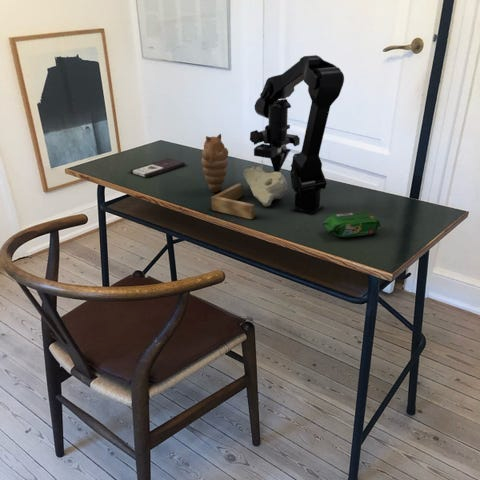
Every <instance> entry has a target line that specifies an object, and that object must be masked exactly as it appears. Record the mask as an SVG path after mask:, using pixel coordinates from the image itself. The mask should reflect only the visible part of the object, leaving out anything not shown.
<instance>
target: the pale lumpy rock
mask: <svg viewBox="0 0 480 480" xmlns="http://www.w3.org/2000/svg"><path fill="white" fill-rule="evenodd" d="M263 166H264V165H259V166H254V165H253V166H252V167H247V168H245V169H243V170H242V175H243V177H244V179H245V181H246V183H247V184H248V186H249V188H250V190H251V193H252V196H253V197H254V198H256V199H257V201H259V202H260V203H261V204H262V206H264V207H265V208H268V207H270V206H271V205H272V202H273V201H274V200H280V199H282V198H283V196H284V195H285V194H286V193H287V191H288V186H289V185H288V182H287V179H286V177H285V176H284V174H283V173H281V172H280V171H279V172H274V171H273V172H272V171H271V172H266V171H265V170H264V168H263Z"/></svg>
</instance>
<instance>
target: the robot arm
mask: <svg viewBox="0 0 480 480" xmlns="http://www.w3.org/2000/svg"><path fill="white" fill-rule="evenodd" d="M302 82H304V83H305V84H306V85H307V86H308V87H307V92H308V95H309V98H310V100H311V104H310V109H309V113H308V118H307V122H306V128H305V132H304V138H303V141H302V147H301V150H300V152H298V153H297V152H296V153H294V154H293V156H292V161H291V164H290V173H289V174H290V181H291V182H290V183H291V188H292V190H293V192H295V193H294V207H293V209H292V210H293V211H296V212H300V213H305V214H308V215H313V214H315V213H316V212H318V211H319V210H321V209H322V207H323V206H322V205H321V204H320V203H321V190H325V189H326V188H327V184H328V183H327V180H326V177H325V174H324V172H323V162H322V160H321V157H320V152H321V147H322V144H323V139H324V134H325V131H326V126H327V122H328V118H329V115H330V110H331V106H332V105H333V103H335V101H336V100H337V99H338V98H339V97H340V94H341V92H342V89H343V86H344V83H345V75H344V73H343V71H342V70H341V69H340V67H338V66H337V65H335V64H333V63H331V62H329V61H327V60H324V59H323V58H322V57H321V56H319V55H318V54H317V55H316V54H314V55H303V56H302V57H300V58H299V60H298V61H297V62H296V63H294V64H293V65H292V66H290V67H289V68H288V69H287V70H286V71H284V72H283V73H281V74H277V75H273V76H270V77H268V78H267V79H266V81H265V83H264V86H263V88H262V90H261V91H262V92H261V93H260V95H259V97H258V98H257V100H256V101H255V104H254V111H255V113H256V114H257V115H258V116H260V117H263V118H266V119H268V124H267V125H265V126H264V129H263V130H260V131H259V130H257V129H256V130H252V131H250V132H249V133H250V134H249V141H250V142H251V143H253V146H255V145H256V146H255V147H254V148H253V156H254V157H260V158H265V159H269V160H270V161H271V166H272V168H273V172H280V171H281V170H282V168H283V166H284V164H285V161H286V159H287V158H288V155H289V153H290V152H291V151H292V150H291V148H288V146H287V145H289V144H292V145H293V146H294V147H297V146H299V145H300V143H301V138H300V136H298V134H289V133H288V130H289V129H291V125H290V124H288V113H289V109H291V108H292V105H291V103H290V102H289V101H288V99H287V98H289V97H291V95H293V93H294V92H295V87H296V86H297V85H299V84H301V83H302ZM258 144H259V145H258ZM310 182H311V183H310Z"/></svg>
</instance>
